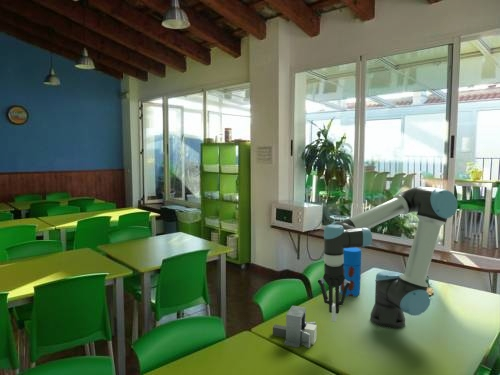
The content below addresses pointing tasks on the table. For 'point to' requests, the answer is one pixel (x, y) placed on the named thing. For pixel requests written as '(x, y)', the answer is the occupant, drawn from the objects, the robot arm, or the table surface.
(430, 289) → the frog figurine
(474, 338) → the table surface
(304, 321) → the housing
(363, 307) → the table surface
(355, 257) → the thermos
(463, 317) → the table surface
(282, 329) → the plug
